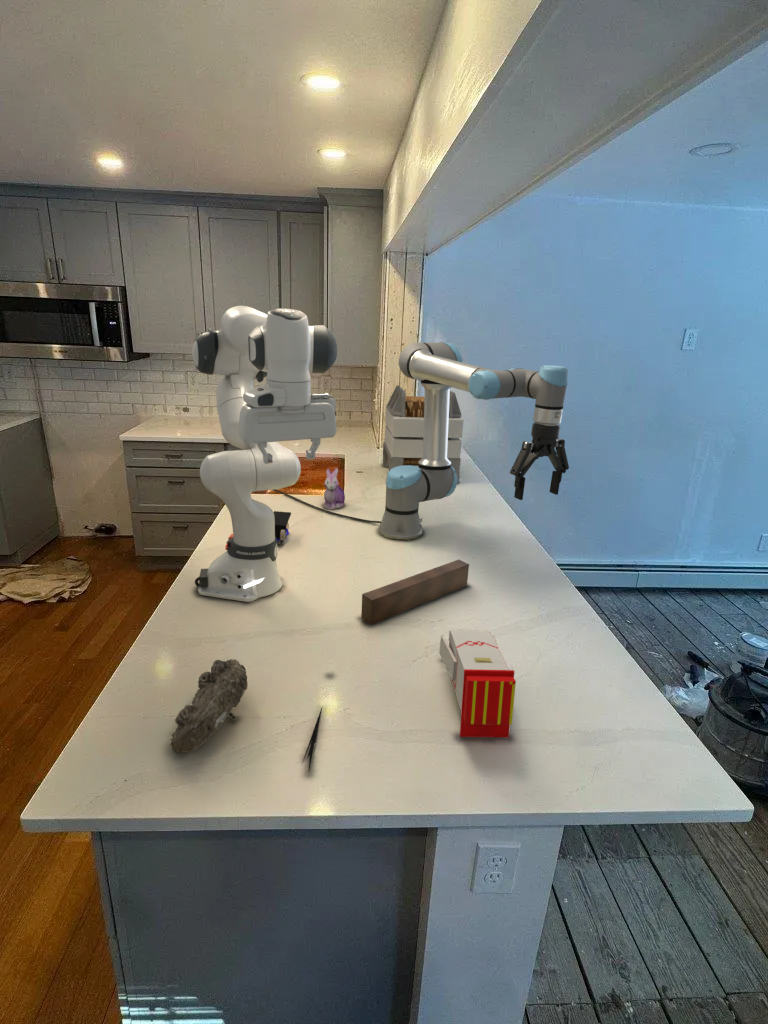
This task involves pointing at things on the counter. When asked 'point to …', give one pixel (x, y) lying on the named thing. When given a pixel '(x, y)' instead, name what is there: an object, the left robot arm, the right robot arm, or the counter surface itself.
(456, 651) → the toy
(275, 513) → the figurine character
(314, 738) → the feather
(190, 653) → the counter surface
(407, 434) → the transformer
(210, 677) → the fossil
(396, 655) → the counter surface
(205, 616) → the counter surface
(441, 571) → the walnut rail
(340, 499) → the figurine
